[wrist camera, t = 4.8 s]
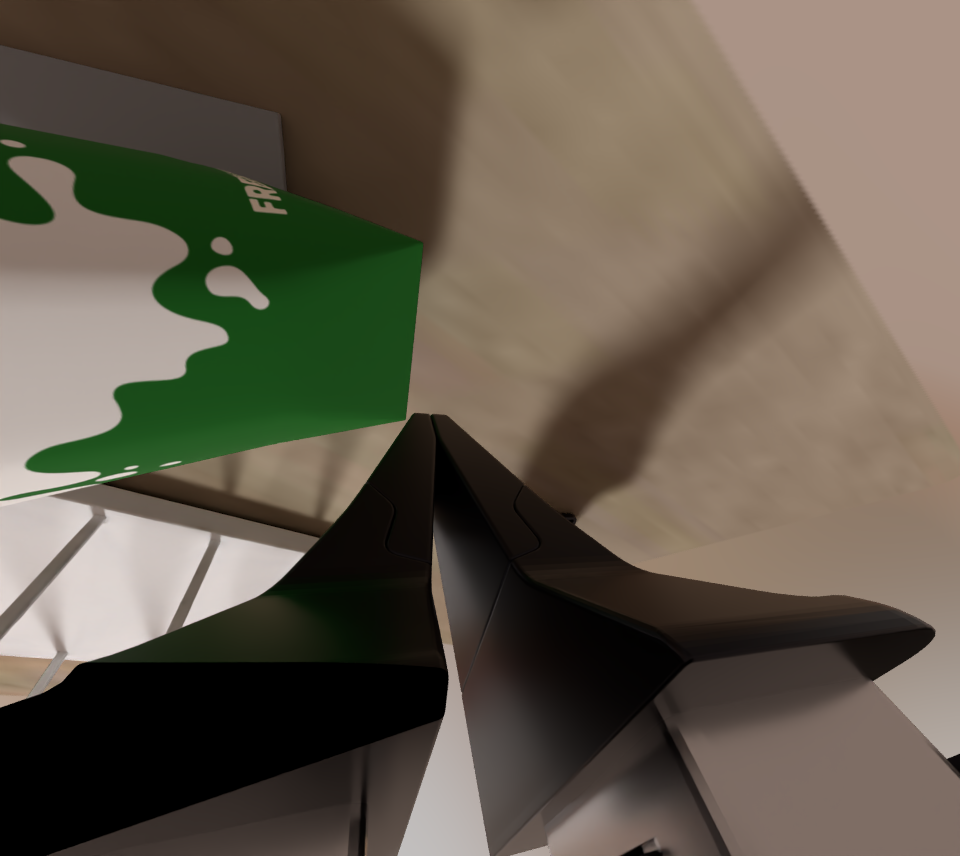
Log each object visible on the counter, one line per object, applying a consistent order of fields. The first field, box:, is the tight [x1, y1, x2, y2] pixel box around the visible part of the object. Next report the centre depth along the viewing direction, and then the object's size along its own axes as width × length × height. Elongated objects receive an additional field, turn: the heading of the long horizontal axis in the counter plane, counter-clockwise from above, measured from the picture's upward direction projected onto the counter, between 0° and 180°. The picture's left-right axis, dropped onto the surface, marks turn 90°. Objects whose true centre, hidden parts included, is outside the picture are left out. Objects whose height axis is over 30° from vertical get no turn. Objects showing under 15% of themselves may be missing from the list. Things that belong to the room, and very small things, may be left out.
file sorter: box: [0, 484, 320, 699], centre depth 21 cm, size 25×17×16 cm
